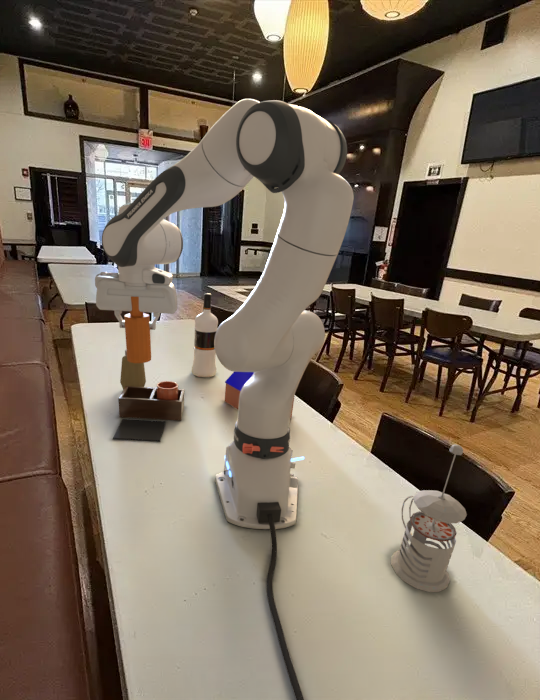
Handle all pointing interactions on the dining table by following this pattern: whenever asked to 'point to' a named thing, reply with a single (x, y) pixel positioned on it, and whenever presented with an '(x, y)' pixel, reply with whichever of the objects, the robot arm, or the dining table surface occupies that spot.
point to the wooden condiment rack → (149, 404)
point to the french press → (435, 523)
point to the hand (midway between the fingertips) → (138, 328)
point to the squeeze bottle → (132, 373)
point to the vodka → (205, 341)
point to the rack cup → (167, 390)
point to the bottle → (137, 334)
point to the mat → (139, 430)
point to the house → (237, 387)
